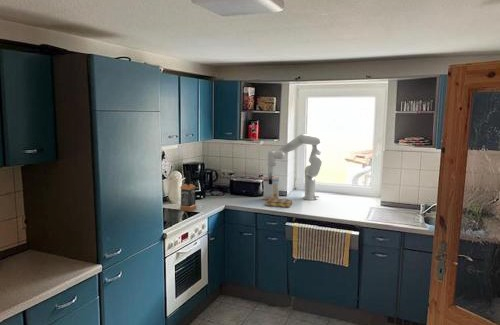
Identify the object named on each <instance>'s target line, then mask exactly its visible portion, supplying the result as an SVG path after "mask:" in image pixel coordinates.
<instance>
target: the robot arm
mask: <svg viewBox="0 0 500 325" xmlns="http://www.w3.org/2000/svg"><path fill="white" fill-rule="evenodd" d="M303 144H306V145H311V152H310V155H309V158H308V161H309V164H310V165H307V166H306V167H305V168H304V195H303V197H302V199H303V200H307V201H314V200H315V201H316V200H317V198H320V195H318V194H316V177H317V176H318V175H319V172H320V170H321V167H322V162H323V160H322V157H321V153H322V138H321V137H320V136H319V135H314V134H313V135H311V134H305V133H301V134H298V135H297V136H296V137H295V138H293V139H292V140H291V141H289V142H288V143H286V144H284V145H282V146H281V147H279V148H278V149H277V150H276V151H274V150H269V151H268V152H267V177H269V184H272V177H275V174H276V173H275V172H276V171H275V170H276V166H277V160H283V159H284V158H285V156H286V154H288V153H289V152H292V151H295V150H296V149H298V148H299V147H300V146H303Z"/></svg>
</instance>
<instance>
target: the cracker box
mask: <svg viewBox="0 0 500 325" xmlns="http://www.w3.org/2000/svg"><path fill="white" fill-rule="evenodd" d="M279 186H280V177H279V176H277V177H275V176H274V177H272V184H269V177H268V176H264V177H263V201H268V200H269V199H270V198H277V199H280V198H279V197H280V196H279V194H280V193H279V190H280V189H279V188H280V187H279Z"/></svg>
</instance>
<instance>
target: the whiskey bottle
mask: <svg viewBox="0 0 500 325" xmlns="http://www.w3.org/2000/svg"><path fill="white" fill-rule="evenodd" d="M179 188H180V206H179V207H180V208H179V210H180V211H183V212H188V213H189V212H190V213H191V212H193V211H195V209H196V210H197V202H196V185H194V184H193V183H192V178H191V171H190V170H188V171H187V170H186V171H185V178H184V184H182V185H181V186H179Z"/></svg>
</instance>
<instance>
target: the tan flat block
mask: <svg viewBox="0 0 500 325" xmlns="http://www.w3.org/2000/svg"><path fill="white" fill-rule="evenodd" d="M292 205H293V199H290V198H289V199H288V198H279V199H277V198H270V199H269V200H266V206H267V207H274V208H287V209H289V208H291V206H292Z"/></svg>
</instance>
